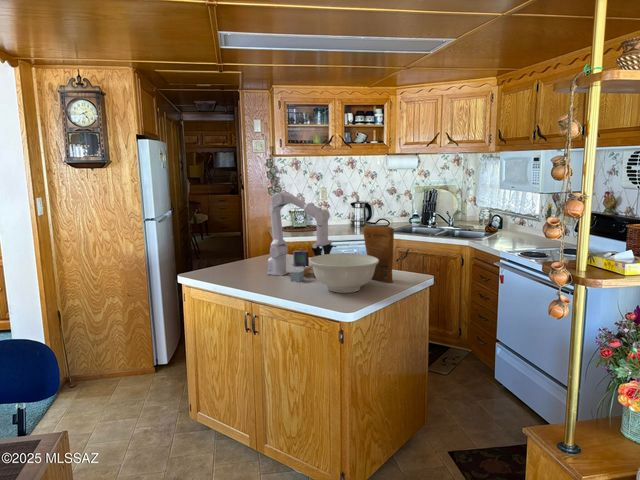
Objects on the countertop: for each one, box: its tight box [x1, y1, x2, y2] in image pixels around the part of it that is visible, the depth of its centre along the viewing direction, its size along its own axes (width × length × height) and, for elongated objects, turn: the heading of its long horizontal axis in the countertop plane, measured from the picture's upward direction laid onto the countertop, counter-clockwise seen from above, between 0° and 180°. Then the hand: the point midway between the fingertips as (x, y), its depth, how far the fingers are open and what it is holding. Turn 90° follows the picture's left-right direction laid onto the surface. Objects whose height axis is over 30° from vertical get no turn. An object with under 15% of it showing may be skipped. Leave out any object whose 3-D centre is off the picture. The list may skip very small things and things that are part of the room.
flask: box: [292, 247, 310, 267], centre depth 275 cm, size 9×3×11 cm, turn 76°
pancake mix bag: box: [362, 225, 395, 283], centre depth 238 cm, size 7×19×28 cm, turn 40°
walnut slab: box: [304, 273, 316, 278], centre depth 251 cm, size 6×6×2 cm
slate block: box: [289, 269, 305, 283], centre depth 241 cm, size 5×5×5 cm
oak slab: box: [303, 265, 314, 273], centre depth 251 cm, size 6×6×2 cm
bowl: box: [309, 252, 379, 294], centre depth 223 cm, size 32×32×15 cm
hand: (322, 259), depth 243 cm, fingers open, 7 cm apart
